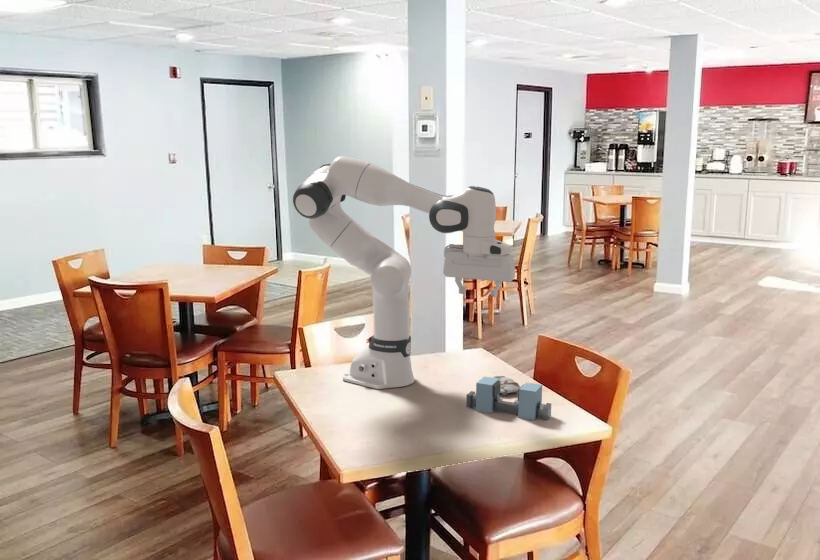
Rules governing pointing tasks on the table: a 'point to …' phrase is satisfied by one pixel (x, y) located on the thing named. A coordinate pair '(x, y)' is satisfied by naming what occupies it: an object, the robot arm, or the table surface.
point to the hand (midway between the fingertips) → (478, 294)
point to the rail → (510, 406)
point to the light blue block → (529, 400)
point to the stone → (507, 385)
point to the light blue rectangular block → (487, 393)
